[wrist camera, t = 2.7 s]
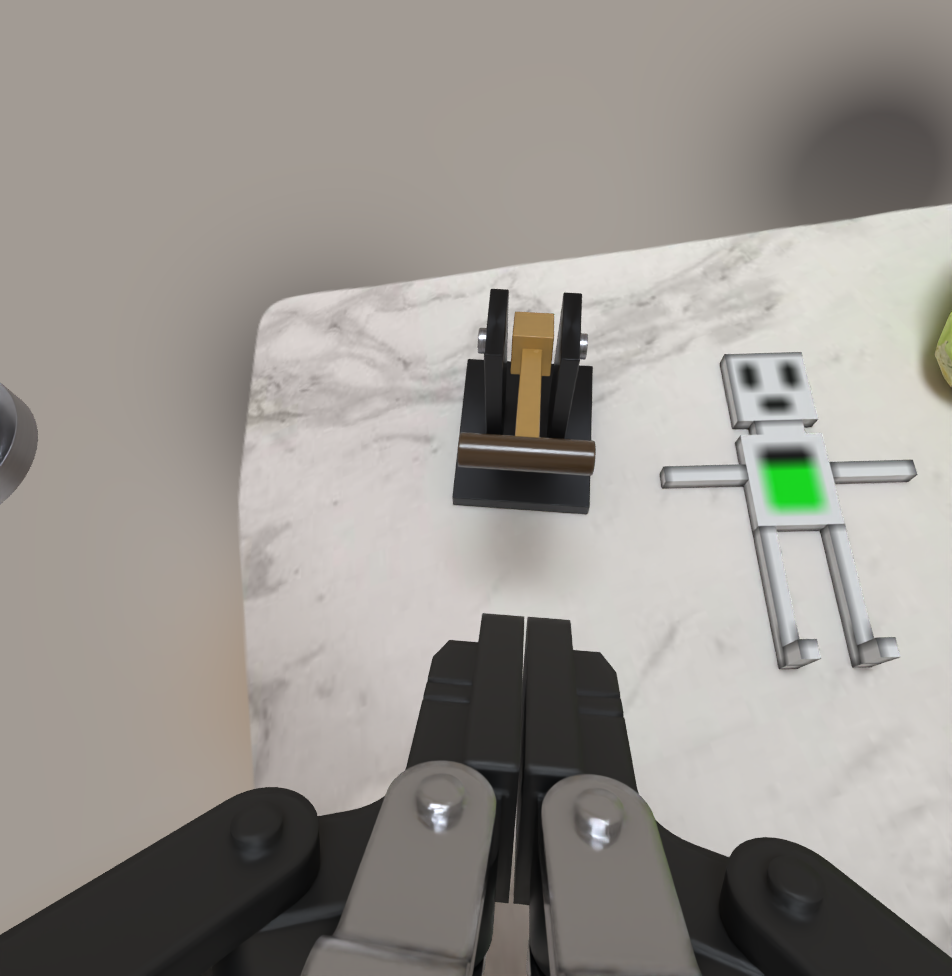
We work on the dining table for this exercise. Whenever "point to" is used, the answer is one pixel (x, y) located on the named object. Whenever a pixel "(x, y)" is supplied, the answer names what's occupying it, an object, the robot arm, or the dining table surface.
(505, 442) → the lock lever
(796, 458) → the robot figure
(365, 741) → the dining table surface
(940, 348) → the lettuce
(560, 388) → the bracket
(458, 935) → the robot arm
